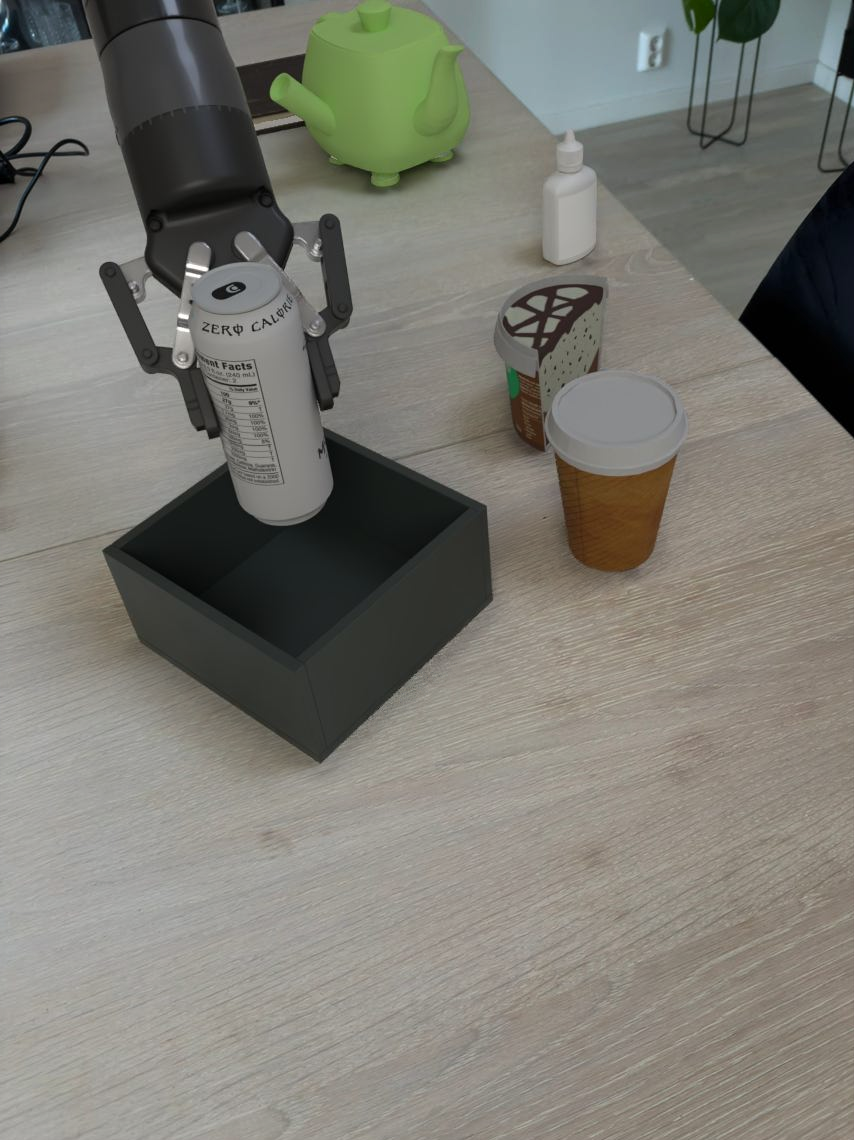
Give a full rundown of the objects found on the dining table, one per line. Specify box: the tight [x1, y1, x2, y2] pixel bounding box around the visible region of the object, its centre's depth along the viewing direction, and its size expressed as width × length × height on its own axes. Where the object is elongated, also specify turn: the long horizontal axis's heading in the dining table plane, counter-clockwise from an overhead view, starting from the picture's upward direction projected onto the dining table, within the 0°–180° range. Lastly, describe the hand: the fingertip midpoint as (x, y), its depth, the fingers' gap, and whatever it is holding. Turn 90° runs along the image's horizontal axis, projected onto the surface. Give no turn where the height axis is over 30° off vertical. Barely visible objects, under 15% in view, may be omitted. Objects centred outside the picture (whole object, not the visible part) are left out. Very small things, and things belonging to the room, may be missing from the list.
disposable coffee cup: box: [544, 369, 690, 572], centre depth 78 cm, size 10×10×12 cm
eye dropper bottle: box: [541, 128, 598, 266], centre depth 106 cm, size 4×6×12 cm
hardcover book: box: [235, 52, 306, 136], centre depth 138 cm, size 16×23×2 cm
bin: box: [101, 425, 494, 764], centre depth 76 cm, size 18×18×9 cm
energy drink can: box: [188, 262, 333, 526], centre depth 66 cm, size 6×6×15 cm
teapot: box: [270, 0, 471, 188], centre depth 119 cm, size 25×22×16 cm
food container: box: [493, 273, 610, 453], centre depth 90 cm, size 12×6×10 cm, turn 149°
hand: (271, 420), depth 65 cm, fingers closed on energy drink can, 6 cm apart
